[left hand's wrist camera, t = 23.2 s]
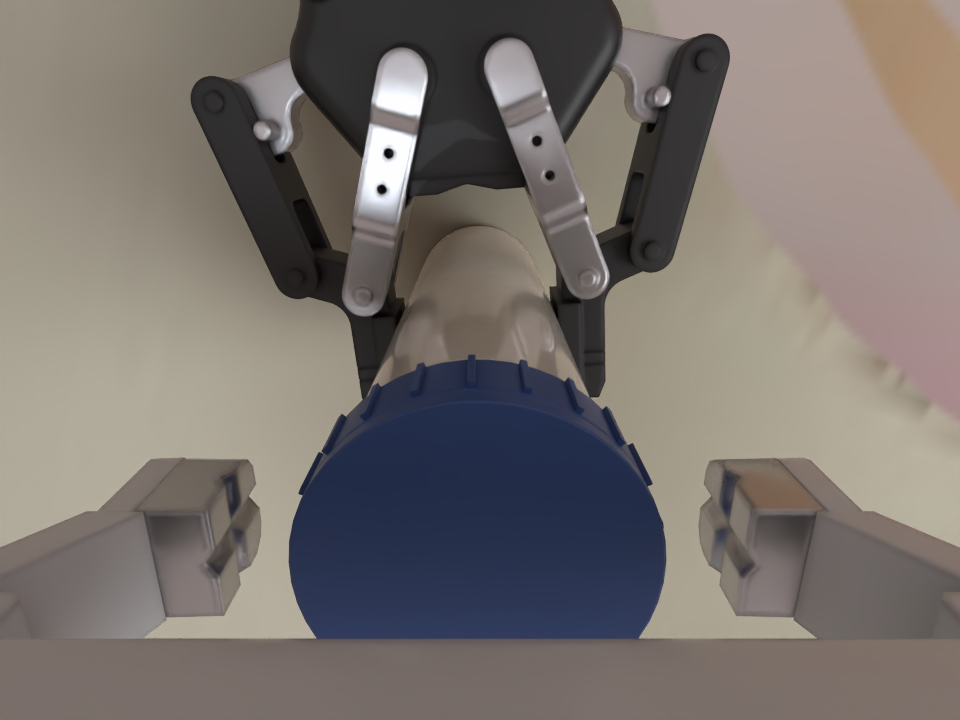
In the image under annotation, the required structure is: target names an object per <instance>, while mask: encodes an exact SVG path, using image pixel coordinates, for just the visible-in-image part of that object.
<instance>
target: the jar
mask: <svg viewBox="0 0 960 720" xmlns="http://www.w3.org/2000/svg"><path fill="white" fill-rule="evenodd" d="M472 354H475V355H476V360H497V361H505V362H512V363H516V364H519V362H520V359H522V360H526V361H527V363H528V367H532V368H536V369H538V370H541V371H543V372H546V373H548V374H551V375H554V376H556V377H558V378H560V379H561V380H563V381H566V379H567V378H568V377H569V378H570V379H572V380H574V382H575V385H576V388H577V389H578V390H580V391H581V392H582V393H584V394H585V395H586V396H588V397H589V398H590V396H589V394H588V392H587V389H586V387H585V384H584V382H583V380H582V377H581V375H580V373H579V370H578V368H577V365H576V363H575V361H574V358H573V356H572V353H571V351H570V349H569V346H568V344H567V341H566V339H565V337H564V334H563V332H562V329H561V327H560V325H559V322H558V320H557V318H556V315H555V313H554V310H553V308H552V306H551V303H550V301H549V298H548V296H547V294H546V291H545V289H544V286H543V284H542V282H541V279H540V277H539V274H538V272H537V270H536V267H535V265H534V263H533V260H532V258H531V256H530V254H529V253H528V251H527V250H526V248H525V247H524V246H523V245H522V244H521V243H520V242H519V241H518V240H517V239H516V238H514V237H513V236H511V235H510V234H508V233H506V232H504V231H502V230H499V229H497V228H493V227H488V226H470V227H465V228H462V229H459V230H456V231H454V232H452V233H450V234H448V235H447V236H445V237H444V238H443V239H441V240H440V241H439V242H438V243H437V244H436V245H435V246H434V248H433V249H432V250H431V252H430V253H429V255H428V257H427V259H426V261H425V263H424V265H423V268H422V270H421V272H420V275H419V277H418V279H417V282H416V284H415V286H414V289H413V291H412V293H411V296H410V298H409V300H408V303H407V305H406V307H405V309H404V312H403V314H402V316H401V319H400V321H399V323H398V326H397V328H396V330H395V333H394V335H393V337H392V340H391V342H390V344H389V346H388V349H387V351H386V353H385V356H384V358H383V360H382V363H381V365H380V367H379V370H378V372H377V374H376V377H375V379H374V381H373V383H372V386H373V385H375V384H376V383H378V384H379V385H380V386H383V385H385V384H387V383H388V382H390V381H392V380H394V379H396V378H397V377H399V376H402V375H404V374H407V373H409V372H412V371H414V370H416V367H417V364H419V363H422V362H424V364H425V366H426V367H427V366H431V365H435V364H439V363H443V362H450V361H458V360H468V355H472ZM372 386H371V388H372ZM371 388H370V390H369V393H370V391H371ZM369 393H368V395H369ZM368 395H367V397H368Z"/></svg>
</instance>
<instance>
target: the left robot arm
mask: <svg viewBox="0 0 960 720" xmlns="http://www.w3.org/2000/svg"><path fill="white" fill-rule="evenodd" d="M255 485H256V481H255V475H254V469H253V466H252V464H251V463H250V462H249V460H246V459H192V458H189V459H186V458H158V459H151V460H150V461H149V462H147V463H146V464H145V465H144V466H143V467H142V468H141V469H140V470H139V471H138V472H137V473H136V474H135V475H134V476H133V477H132V478H131V479H130V480H129V481H128V482H127V483H126V484H125V485H124V486H123V487H122V488H121V489H120V490H119V491H118V492H117V493H116V494H115V495H114V496H113V497H111V498H110V499H109V500H108V501H107V502H106V503H105V504H104V505H103V506H102V507H101V508H100V509H99V510H98V511H91V512H84V513H82V514H80V515H77V516H75V517H72V518H70V519H68V520H65V521H63V522H61V523H58V524H56V525H53V526H51V527H49V528H46V529H44V530H41V531H39V532H37V533H34V534H32V535H29V536H27V537H25V538H22V539H20V540H17V541H15V542H13V543H10V544H8V545H5V546H3V547H1V548H0V720H960V548H959V547H957V546H954V545H952V544H950V543H947V542H945V541H942V540H940V539H938V538H935V537H933V536H930V535H928V534H926V533H923V532H921V531H919V530H916V529H914V528H911V527H909V526H907V525H904V524H902V523H899V522H897V521H895V520H892V519H890V518H887V517H885V516H883V515H880V514H878V513H876V512H869V511H862V510H861V509H860V508H859V507H858V506H857V505H856V504H855V503H854V502H853V501H852V500H851V499H850V498H849V497H848V496H847V495H846V494H844V493H843V492H842V491H841V490H840V489H839V488H838V487H837V486H836V485H835V484H834V483H833V482H832V481H831V480H830V479H829V478H828V477H827V476H826V475H825V474H824V473H823V472H822V471H821V470H820V469H819V468H818V467H817V466H816V465H815V464H814V463H813V462H812V461H811V460H808V459H805V458H782V459H777V458H768V459H726V460H713V461H710V462H709V464H708V467H707V469H706V474H705V480H704V485H705V487H706V488H707V490H708V491H709V493H710V495H711V497H710V498H709V499H708V500H707V501H706V502H705V504H704V505H703V506H702V507H701V508H700V517H699V536H700V544H701V547H702V551H703V554H704V556H705V558H706V560H707V562H708V564H709V566H711V567H712V568H714V569H715V570H717V571H719V572H720V573H721V578H720V587H721V589H722V591H723V592H724V594H725V596H726V598H727V600H728V602H729V603H730V605H731V607H732V609H733V611H734V613H735V614H736V616H763V617H794V621H796V622H797V623H798V624H800V625H801V626H802V627H804V628H805V629H806V630H807V631H809V632H810V633H811V634H813V635H814V636H815V637H817V638H818V639H142V638H144V637H145V636H146V635H148V634H149V633H150V632H151V631H153V630H154V629H155V628H157V627H158V626H159V625H161V624H162V623H163V622H164V621H166V617H196V616H224V615H225V613H226V611H227V609H228V607H229V605H230V603H231V602H232V600H233V598H234V596H235V594H236V592H237V591H238V589H239V587H240V578H239V573H240V572H241V571H243V570H245V569H246V568H248V567H249V566H251V564H252V562H253V560H254V558H255V556H256V554H257V551H258V547H259V542H260V538H261V516H260V508H259V507H258V506H257V505H256V504H255V502H254V501H253V500H252V499H251V498H250V497H249V495H250V493H251V491H252V490H253V488H254V487H255Z"/></svg>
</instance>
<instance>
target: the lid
mask: <svg viewBox="0 0 960 720" xmlns="http://www.w3.org/2000/svg"><path fill="white" fill-rule="evenodd" d="M322 452H323V453H324V454H323V453H320V452H319V453H318V454H317V456H316V458H315V460H314V462H313V464H312V466H311V468H310V470H309V472H308V474H307V476H306V478H305V480H304V482H303V484H302V486H301V488H300V491H299V494H300V495H303V496H302V498H301V501H300V503H299V506H298V509H297V512H296V514H295V517H294V520H293V524H292V530H291V535H290V540H289V568H290V576H291V583H292V586H293V590H294V593H295V597H296V600H297V603H298V606H299V608H300V610H301V612H302V614H303V616H304V619H305V621H306V623H307V624H308V626H309V627H310V629H311V630H312V632H313V633H314V635H315V636H316V638H317V639H638V638H639V637H640V635H641V634H642V632H643V630H644V629H645V627H646V626H647V624H648V623H649V621H650V619H651V617H652V614H653V612H654V610H655V608H656V606H657V603H658V600H659V597H660V593H661V590H662V586H663V583H664V575H665V567H666V541H665V536H664V531H663V528H664V527H663V522H662V519H661V517H660V515H659V512H658V510H657V507H656V504H655V501H654V499H653V497H652V495H651V493H650V491H649V489H648V487H647V486H650V485H652V484H653V483H652V481H651V479H650V477H649V475H648V473H647V471H646V469H645V467H644V465H643V463H642V461H641V459H640V457H639V455H638V453H637V451H636V449H635V447H634V445H633V443H632V444H630V445H627V443H626V441H625V439H624V438H623V435H622V433H621V431H620V429H619V427H618V425H617V423H616V421H615V419H614V416H613V414H612V412H611V410H610V409H609V408H608V407H607V406H606V407H605V408H604V409H603V410H602V409H601V408H600V407H599V406H598V405H597V404H596V403H595V402H594V401H593V400H592V399H591V398H589V397H588V396H586V395H585V394H584V393H582V392H581V391H580V390H578V389H577V388H576V385H575V382H574V380H572V379H570V378H569V377H568V378H567V379H566V381H563V380H561V379H560V378H558V377H556V376H554V375H551V374H548V373H546V372H543V371H541V370H538V369H536V368H532V367H528V363H527V361H526V360H522V359H520V362H519V364H516V363H512V362H505V361H497V360H476V355H475V354H472V355H468V360H458V361H450V362H443V363H439V364H435V365H431V366H427V367H426V366H425V364H424V362H422V363H419V364H417V367H416V370H414V371H412V372H409V373H407V374H404V375H402V376H399V377H397V378H396V379H394V380H392V381H390V382H388V383H387V384H385V385H383V386H380V385H379V384H378V383H376V384H375V385H373V386H372V388H371V391H370V393H369V395H368V397H366V398H365V399H363V400H362V401H361V402H360V403H359V404H358V405H357V406H356V407H355V408H354V409H353V410H352V411H351V412H350V413H349V414H348V415H347V417H346V416H344V415H343V414H341V415H340V417H339V418H338V419H337V421H336V423H335V425H334V427H333V429H332V431H331V433H330V435H329V437H328V439H327V441H326V443H325V445H324V447H323V449H322Z"/></svg>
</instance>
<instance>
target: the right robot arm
mask: <svg viewBox="0 0 960 720" xmlns="http://www.w3.org/2000/svg"><path fill="white" fill-rule="evenodd" d="M729 62H730V53H729V49H728V46H727V44H726V43H725V41H724V40H723V39H722V38H720V37H719V36H717V35H714V34H702V35H699V36H697V37H693V38H690V39H687V40H681V39H676V38H672V37H667V36H662V35H657V34H653V33H648V32H643V31H638V30H633V29H628V28H624V27H622V22H621V18H620V15H619V12H618V10H617V8H616V6H615V5H614V3H613V1H612V0H300V9H299V16H298V21H297V25H296V28H295V31H294V34H293V37H292V40H291V45H290V57H289V58H286V59H284V60H281V61H279V62H276V63H274V64H271V65H269V66H267V67H264V68H262V69H259V70H257V71H254V72H252V73H249V74H247V75H244V76H242V77H239V78H237V79H234V80H229V79H224V78H220V77H215V76H208V77H204V78H202V79H200V80H199V81H198V82H197V83H196V84H195V85H194V87H193V89H192V92H191V105H192V108H193V111H194V113H195V115H196V117H197V119H198V121H199V123H200V125H201V127H202V130H203V132H204V134H205V136H206V138H207V140H208V142H209V144H210V146H211V149H212V151H213V153H214V155H215V157H216V159H217V161H218V163H219V165H220V168H221V170H222V172H223V174H224V176H225V178H226V180H227V182H228V184H229V187H230V189H231V191H232V193H233V195H234V197H235V199H236V201H237V203H238V205H239V208H240V210H241V212H242V214H243V216H244V218H245V220H246V222H247V224H248V227H249V229H250V231H251V233H252V235H253V237H254V239H255V241H256V243H257V246H258V248H259V250H260V252H261V254H262V256H263V258H264V260H265V262H266V265H267V267H268V269H269V271H270V273H271V275H272V277H273V279H274V281H275V283H276V285H277V287H278V289H279V290H280V291H281V292H282V293H283V294H284V295H286V296H288V297H290V298H293V299H302V298H306V297H311V298H315V299H319V300H322V301H326V302H330V303H333V304H335V305H337V306H338V307H340V308H341V309H342V310H343V311H344V312H345V313H346V315H347V317H348V318H349V321H350V324H351V330H352V336H353V343H354V349H355V356H356V362H357V367H358V375H359V379H360V388H361V394H362V399H365V398H366V397H367V395H368V393H369V390H370V388H371V386H372V383H373V381H374V379H375V377H376V374H377V372H378V370H379V367H380V365H381V363H382V360H383V358H384V356H385V353H386V351H387V349H388V346H389V344H390V342H391V340H392V337H393V335H394V333H395V330H396V328H397V326H398V323H399V321H400V319H401V316H402V314H403V312H404V309H405V304H404V298H396V293H395V282H396V277H397V272H398V268H399V263H400V258H401V254H402V249H403V244H404V240H405V235H406V231H407V227H408V224H409V221H410V217H411V213H412V208H413V203H414V199H415V196H423V195H435V194H440V193H442V192H445V191H448V190H451V189H453V188H456V187H459V186H461V185H464V184H471V185H476V186H481V187H487V188H492V189H508V188H520V187H524V188H525V191H526V193H527V196H528V198H529V201H530V203H531V206H532V208H533V210H534V213H535V215H536V217H537V220H538V222H539V224H540V227H541V229H542V232H543V235H544V237H545V240H546V242H547V245H548V247H549V250H550V252H551V255H552V257H553V260H554V262H555V265H556V281H557V286H554V287H550V303H551V306H552V308H553V310H554V313H555V315H556V318H557V320H558V322H559V325H560V327H561V329H562V332H563V334H564V337H565V339H566V341H567V344H568V346H569V349H570V351H571V353H572V356H573V358H574V361H575V363H576V365H577V368H578V370H579V373H580V375H581V377H582V380H583V382H584V384H585V387H586V389H587V392H588V394H589V396H590V397H599V395H600V393H601V391H602V388H603V386H604V383H605V316H604V305H605V299H606V296H607V294H608V292H609V291H610V289H611V288H612V287H613V286H614V285H615V284H617V283H618V282H620V281H621V280H624V279H626V278H628V277H630V276H633V275H635V274H637V273H640V272H642V271H644V272H650V273H651V272H657V271H660V270H662V269H664V268H665V267H666V266H667V265H668V264H669V263H670V262H671V260H672V258H673V256H674V253H675V249H676V246H677V242H678V239H679V235H680V232H681V228H682V225H683V221H684V218H685V215H686V211H687V208H688V204H689V201H690V197H691V194H692V190H693V187H694V183H695V180H696V177H697V173H698V170H699V166H700V163H701V159H702V156H703V152H704V149H705V146H706V142H707V139H708V135H709V132H710V128H711V125H712V121H713V118H714V114H715V111H716V108H717V104H718V100H719V97H720V94H721V90H722V87H723V83H724V80H725V76H726V73H727V69H728V66H729ZM610 71H613V72H615V73H616V74H618V75H619V76H620V78H621V79H622V81H623V83H624V86H625V109H626V111H627V113H628V115H629V116H630V117H631V118H632V119H633V120H635V121H637V122H639V123H641V126H640V130H639V134H638V138H637V142H636V146H635V150H634V154H633V158H632V162H631V166H630V170H629V174H628V178H627V182H626V186H625V190H624V193H623V197H622V201H621V205H620V209H619V213H618V217H617V221H616V225H615V227H613V228H611V229H608V230H606V231H604V232H602V233H599V234H597V235H595V232H594V230H593V227H592V224H591V222H590V219H589V216H588V212H587V206H586V202H585V199H584V196H583V193H582V191H581V188H580V185H579V182H578V180H577V177H576V174H575V172H574V169H573V166H572V163H571V161H570V158H569V155H568V152H567V150H566V147H565V144H566V142H567V140H568V139H569V137H570V136H571V134H572V132H573V131H574V129H575V127H576V126H577V124H578V123H579V121H580V119H581V118H582V116H583V115H584V113H585V111H586V110H587V108H588V107H589V105H590V103H591V102H592V100H593V98H594V97H595V95H596V94H597V92H598V90H599V89H600V87H601V86H602V84H603V82H604V81H605V79H606V78H607V76H608V74H609V73H610ZM307 98H310V100H311V101H312V102H313V103H314V104H315V105H316V106H317V108H318V109H319V110H320V111H321V112H322V113H323V114H324V116H325V117H326V118H327V119H328V120H329V121H330V122H331V124H332V125H333V126H334V127H335V128H336V129H337V130H338V132H339V133H340V134H341V135H342V136H343V137H344V138H345V140H346V141H347V142H348V143H349V144H350V145H351V146H352V148H353V149H354V150H355V151H356V152H357V153H358V154H359V156H360V157H361V158H362V159H363V162H362V167H361V173H360V178H359V184H358V189H357V195H356V200H355V206H354V211H353V217H352V230H353V232H352V240H351V245H350V251H349V254H347V253H344V252H340V251H336V250H333V249H332V247H331V245H330V242H329V240H328V238H327V235H326V233H325V231H324V229H323V226H322V224H321V222H320V219H319V217H318V215H317V212H316V210H315V208H314V205H313V203H312V201H311V199H310V196H309V194H308V192H307V189H306V187H305V185H304V182H303V180H302V178H301V176H300V173H299V171H298V169H297V166H296V164H295V162H294V159H293V157H292V155H291V152H292V151H294V150H295V149H296V148H297V147H298V146H299V144H300V142H301V140H302V127H301V124H300V118H299V115H300V109H301V106H302V104H303V103H304V101H305V100H306V99H307Z"/></svg>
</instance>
